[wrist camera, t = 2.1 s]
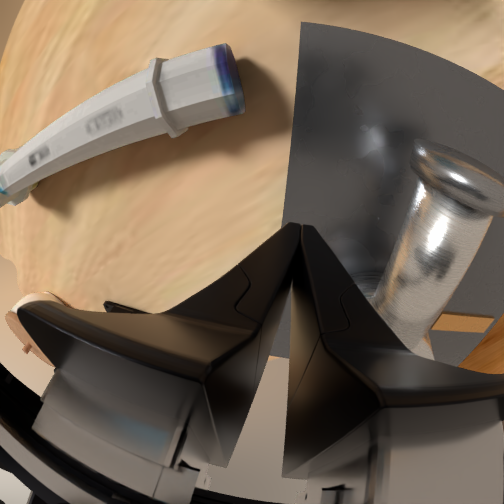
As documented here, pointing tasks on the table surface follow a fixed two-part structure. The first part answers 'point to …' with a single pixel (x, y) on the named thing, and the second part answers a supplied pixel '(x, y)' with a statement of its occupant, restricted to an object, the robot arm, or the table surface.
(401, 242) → the dryer elbow
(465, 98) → the cutting board
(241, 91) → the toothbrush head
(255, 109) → the table surface
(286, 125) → the table surface
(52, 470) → the robot arm
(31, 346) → the lidded jar
